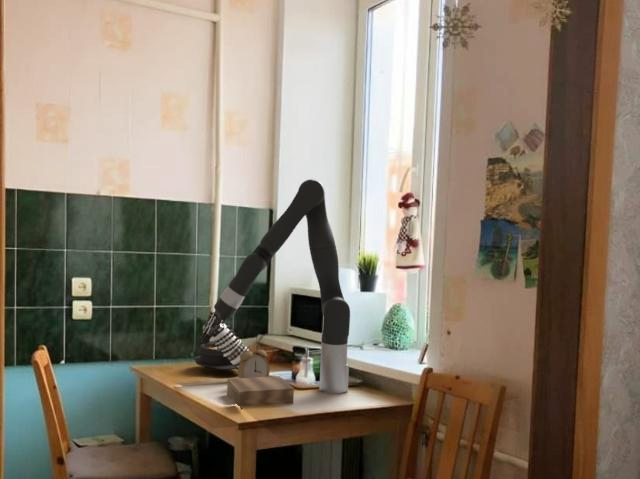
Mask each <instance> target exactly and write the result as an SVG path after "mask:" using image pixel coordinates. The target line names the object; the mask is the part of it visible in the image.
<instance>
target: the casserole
mask: <svg viewBox="0 0 640 479" xmlns="http://www.w3.org/2000/svg"><path fill="white" fill-rule="evenodd" d="M197 352H198V354H199V355H198V356H193V360H194V361H195V364H196V365H198V366H201V367H204V368H205V369H209V370H217V371H219V370H223V371H228V370H236V367H234V366H233V364H232V363H231V362H230V360H229V359H228V358H227V357H226V356H225V357H224V354H221V353H220V351H218V350H217V347H213V344H210V342H208V343H207V344H206V345H205V344H203V343H201V345H200V347H199V349H198V350H197Z"/></svg>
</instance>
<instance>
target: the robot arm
mask: <svg viewBox="0 0 640 479" xmlns="http://www.w3.org/2000/svg"><path fill="white" fill-rule="evenodd" d="M304 217H305V218H306V222H307V223H306V224H307V237H308V238H307V239H308V246H309V252H310V259H311V262H312V266H313V270H314V273H315V276H316V278H317V279H316V280H317V282H318V286H319V287H318V288H319V293H320V305H321V313H322V316H323V320H322V321H323V322H322V323H323V324H322V326H323V327H322V334H321V343H320V344H321V346H320V347H321V350H320V369H319V391H320V392H321V393H324V394H333V395H337V394H338V395H339V394H343V393H348V392H349V371H350V370H349V369H350V366H349V364H348V362H347V361H348V340H349V335H350V322H351V308H350V305H349V303H348V302H347V301H345V299H344V295H343V292H342V291H343V290H342V287H341V284H340V278H339V272H340V270H339V269H340V268H339V257H338V256H339V255H338V250H337V246H336V245H337V244H336V241H335V237H334V234H333V232H332V231H333V230H332V227H331V225H330V222H329V218H328V215H327V206H326V192H325V187H324V185H323V184H322V183H321V182H320V181H319V180H316V179H310V178H309V179H306V180H304V181H303V182H302V183H301V184H300V185H299V187H298V191H297V192H296V193H295V195H294V197H293V200H292V201H291V203H290V204H289V205H288V207H287V208H286V209H285V211H284V212H283V213H282V214H281V216H280V217H279V218H278V219H277V220H276V221H275V222H274V223H273V224H272V226H271V227H270V228H269V230H268V231H267V232H266V233H265V234H264V236H263V237H261V240H260V242H259V244H258V245H257V246H256V248H255V249H254V250H253V251H252V252H251V253H249V254H248V255H247V256H246V257H245V259H244V260H243V262H242V263H241V264H240V267H239V268H238V270H237V272H236V274H235V276H234V277H233V278H232V280H231V281H230V282H229V284H228V285H227V286H226V288H224V290H223V292H222V293H221V294H220V296H219V298H218V299H217V300H216V302H215V304H214V306H213V308H214V310H215V311H210V313H209V315H208V317H207V319H206V322H205V324H206V325H205V324H204V325H205V327H206V328H205V330H206V331H205V332H204V333H203V332H202V335H201V336H200V338H199V340H200V342H201V344H205V345H206V344H207V343H210V339H211V337H216V336H217V335H218V334H220V333H221V332H222V331H223V330H224V327H222V326H223V324H226V320H227V319H232V318H233V317H234V315H235V314H236V312H237V311H238V309H239V307H241V305H242V303H243V301H244V300H245V298H246V296H247V295H248V293H249V291H250V290H251V288H252V286H253V284H254V282H255V280H256V279H257V278H258V276H259V275H260V274H261V272H262V271H264V270H265V269H266V267H267V266H268V264H269V263H270V262H271V260H272V258H273V257H274V256H275V254H276V253H277V252H278V251H280V249H281V248H282V246H283V245H284V244H285V243H286V241H288V239H289V237H291V235H292V233H293V232H294V230H295V229H296V227H297V226H298V225H299V223H301V221H302V219H304Z"/></svg>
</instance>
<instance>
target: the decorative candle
mask: <svg viewBox="0 0 640 479" xmlns="http://www.w3.org/2000/svg"><path fill="white" fill-rule="evenodd" d="M205 325H206V323H205V324H203V326H202V334H203V333H204V332H205V331H206V330H205V328H206V327H205ZM222 327H224V330H223V331H222V332H221V333H220V334H218V335H217V336H216V337H211V339H210V340H209V343H210V344H213V347H217V350H218V351H220V353H221V354H224V357H225V356H226V357H227V358H228V359H229V360H230V362H231V363H232V364H233V366H234V367H236V369H235V370H237V371H238V366H239V364H240V362H241V359H240V355H241V354H242V353H243V351H245V349H246V348H247V347H248V346H245V344H243V342H242V339H239V338H240V336H236V332H234V329H233V328H232V329H229V328H230V325H229V324H228V325H226V323H224V324H223V326H222ZM247 351H251V352H252V350H251V349H249V348H248V350H247Z"/></svg>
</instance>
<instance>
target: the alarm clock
mask: <svg viewBox="0 0 640 479" xmlns="http://www.w3.org/2000/svg"><path fill="white" fill-rule="evenodd" d="M251 346H256V347H258V349H256V350H254V351H253V352H252V350H251V351H247V350H248V349H249V348H251ZM246 347H247V348H246V349H245V351H243V353H242V354H241V355H240V359H241V362H240V364H239V366H238V370H237V375H238V376H237V377H238V378H253V377H270V363H269V362H268V359H266V358H268V353H267V352H266V351H265V349H264V348H262V347H261V345H259V344H257V343H251V344H249V345H248V346H246Z"/></svg>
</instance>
